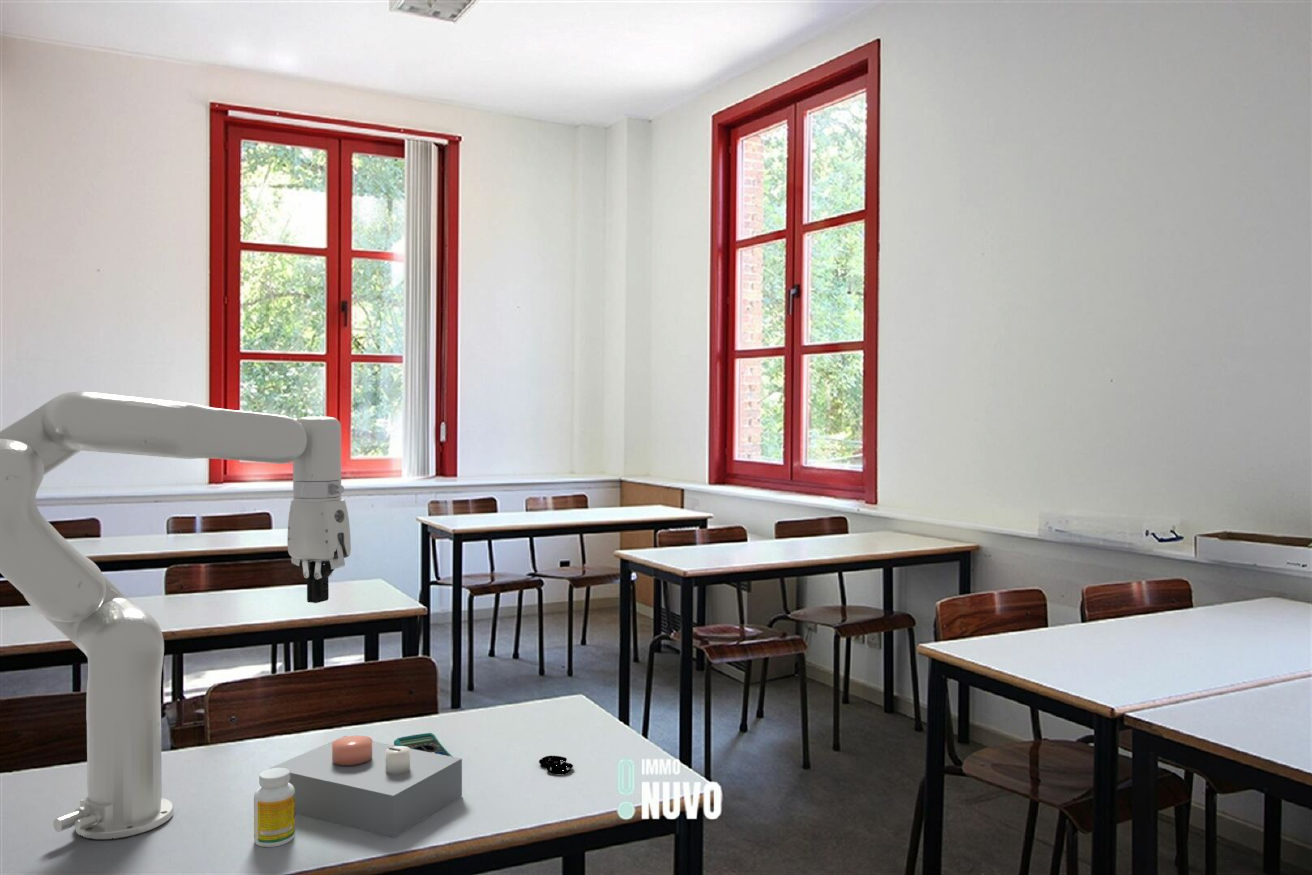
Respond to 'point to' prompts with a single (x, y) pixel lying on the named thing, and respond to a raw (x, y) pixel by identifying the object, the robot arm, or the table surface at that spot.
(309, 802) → the box
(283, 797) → the supplement bottle
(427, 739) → the digital multimeter
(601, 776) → the table surface
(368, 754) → the button
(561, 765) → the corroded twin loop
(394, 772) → the knob
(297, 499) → the robot arm
